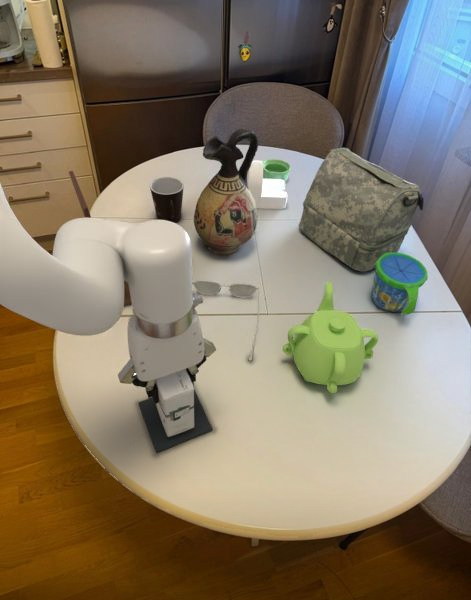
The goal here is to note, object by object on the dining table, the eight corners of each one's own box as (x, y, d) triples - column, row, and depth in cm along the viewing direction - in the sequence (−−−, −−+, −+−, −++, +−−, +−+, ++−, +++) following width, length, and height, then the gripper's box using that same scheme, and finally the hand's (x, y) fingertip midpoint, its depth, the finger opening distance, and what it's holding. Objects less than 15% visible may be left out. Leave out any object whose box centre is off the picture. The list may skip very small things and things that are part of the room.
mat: (156, 453, 68) (155, 452, 67) (138, 404, 74) (138, 402, 73) (212, 430, 71) (212, 428, 71) (191, 384, 77) (191, 382, 77)
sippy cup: (421, 327, 91) (440, 294, 83) (373, 326, 90) (388, 293, 83) (399, 278, 101) (414, 245, 94) (357, 277, 101) (368, 244, 94)
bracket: (282, 190, 128) (287, 155, 119) (286, 209, 120) (292, 172, 112) (220, 188, 127) (221, 152, 118) (220, 207, 119) (221, 170, 111)
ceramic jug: (207, 270, 100) (208, 150, 79) (186, 233, 110) (182, 118, 88) (270, 254, 106) (287, 138, 84) (244, 221, 115) (253, 109, 94)
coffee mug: (158, 207, 118) (155, 175, 110) (188, 211, 117) (186, 179, 110) (146, 231, 109) (142, 198, 102) (178, 235, 109) (176, 202, 102)
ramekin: (258, 171, 135) (259, 158, 132) (285, 171, 136) (287, 158, 133) (262, 186, 129) (264, 173, 126) (291, 185, 130) (293, 172, 127)
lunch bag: (409, 259, 107) (444, 182, 92) (359, 283, 99) (388, 204, 84) (339, 209, 122) (359, 135, 106) (291, 227, 114) (305, 150, 99)
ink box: (151, 396, 73) (145, 354, 65) (178, 386, 75) (175, 345, 66) (167, 438, 68) (162, 400, 59) (196, 427, 69) (195, 388, 61)
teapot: (267, 351, 84) (274, 308, 75) (317, 321, 90) (329, 278, 81) (325, 410, 75) (340, 369, 66) (375, 372, 81) (396, 330, 72)
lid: (72, 170, 79) (68, 171, 79) (87, 207, 71) (83, 208, 71) (96, 237, 92) (92, 239, 91) (111, 276, 83) (107, 277, 83)
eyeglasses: (258, 297, 94) (260, 284, 91) (255, 362, 82) (257, 349, 79) (190, 291, 94) (190, 278, 92) (177, 355, 82) (176, 342, 79)
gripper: (213, 276, 59) (211, 355, 72) (89, 310, 53) (112, 389, 66) (236, 312, 54) (229, 389, 67) (103, 354, 48) (124, 430, 61)
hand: (171, 389), depth 66 cm, fingers closed on ink box, 5 cm apart
